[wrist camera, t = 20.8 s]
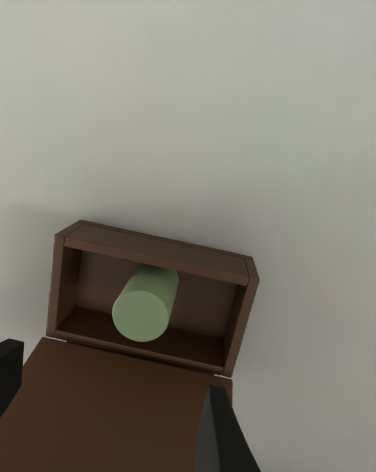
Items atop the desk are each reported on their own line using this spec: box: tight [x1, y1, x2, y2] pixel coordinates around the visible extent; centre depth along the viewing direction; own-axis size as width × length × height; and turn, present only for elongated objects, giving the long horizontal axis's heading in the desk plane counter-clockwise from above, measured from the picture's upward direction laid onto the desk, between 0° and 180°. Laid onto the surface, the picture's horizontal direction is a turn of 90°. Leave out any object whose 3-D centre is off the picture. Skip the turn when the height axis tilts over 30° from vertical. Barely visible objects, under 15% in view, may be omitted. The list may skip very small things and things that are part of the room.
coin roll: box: [112, 263, 179, 342], centre depth 19 cm, size 3×3×5 cm
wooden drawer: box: [46, 220, 259, 377], centre depth 21 cm, size 7×12×4 cm, turn 79°
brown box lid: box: [0, 337, 233, 472], centre depth 17 cm, size 7×12×4 cm
